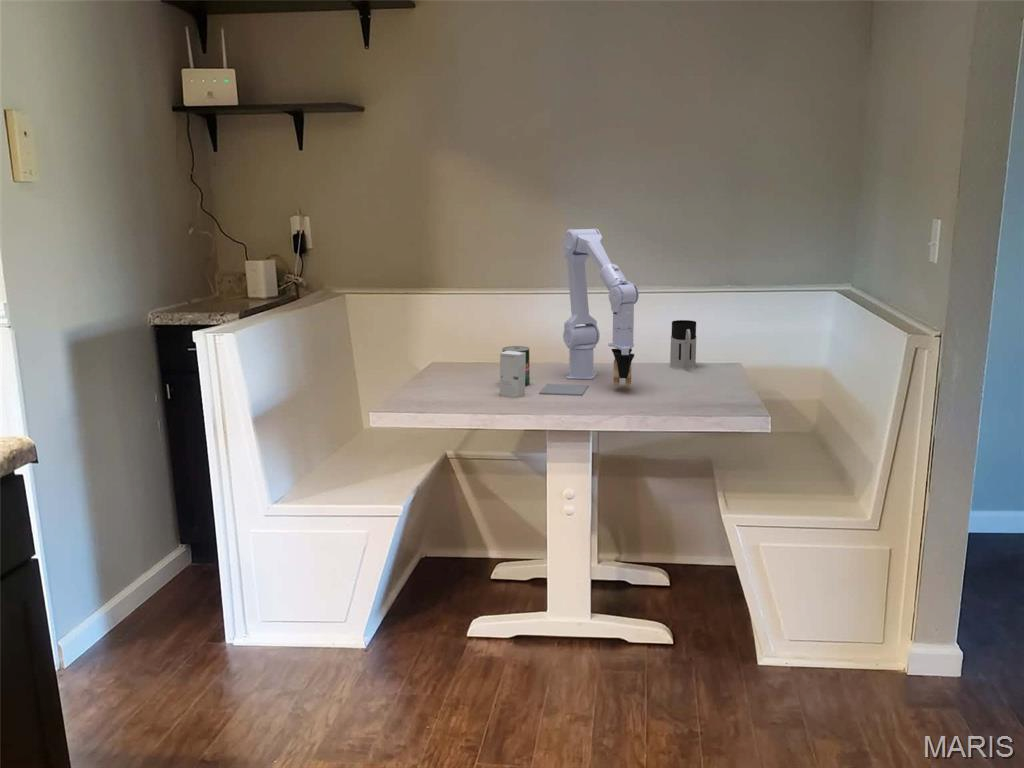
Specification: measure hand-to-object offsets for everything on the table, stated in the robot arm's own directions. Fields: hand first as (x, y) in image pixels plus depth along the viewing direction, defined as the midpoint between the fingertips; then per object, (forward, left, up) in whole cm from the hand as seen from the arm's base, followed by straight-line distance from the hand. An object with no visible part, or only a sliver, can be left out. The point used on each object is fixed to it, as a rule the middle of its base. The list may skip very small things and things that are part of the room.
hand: (622, 376), depth 239 cm
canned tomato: (-2, -31, -4) cm, 31 cm away
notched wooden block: (0, 0, -2) cm, 2 cm away
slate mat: (+3, -16, -4) cm, 17 cm away
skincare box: (+11, -29, -4) cm, 31 cm away
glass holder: (-32, +16, -4) cm, 36 cm away
